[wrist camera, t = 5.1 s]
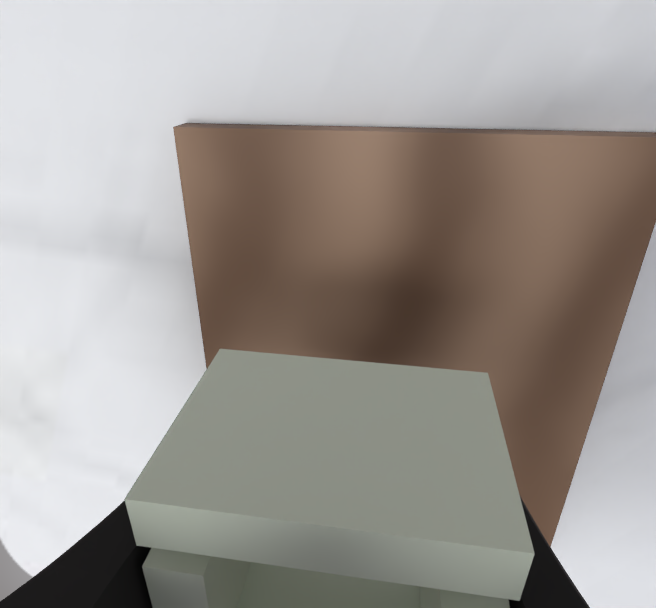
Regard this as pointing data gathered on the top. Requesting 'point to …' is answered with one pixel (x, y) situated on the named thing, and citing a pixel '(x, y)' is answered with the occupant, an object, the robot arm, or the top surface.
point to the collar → (332, 490)
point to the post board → (429, 261)
